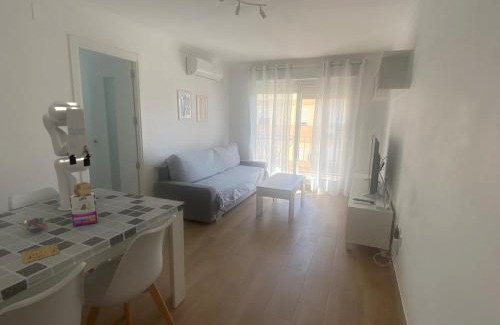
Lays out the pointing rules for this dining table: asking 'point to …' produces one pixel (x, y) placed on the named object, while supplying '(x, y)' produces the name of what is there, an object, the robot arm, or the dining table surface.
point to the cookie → (40, 253)
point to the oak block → (82, 188)
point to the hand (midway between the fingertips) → (80, 165)
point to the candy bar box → (84, 209)
